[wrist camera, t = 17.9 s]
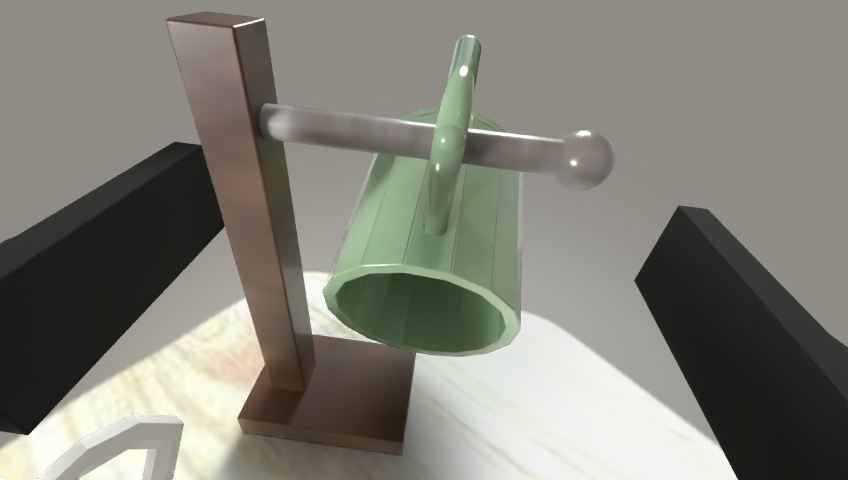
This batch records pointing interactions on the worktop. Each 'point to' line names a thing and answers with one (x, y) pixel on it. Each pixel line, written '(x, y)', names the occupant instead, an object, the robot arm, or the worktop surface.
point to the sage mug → (435, 239)
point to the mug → (123, 448)
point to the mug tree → (277, 237)
